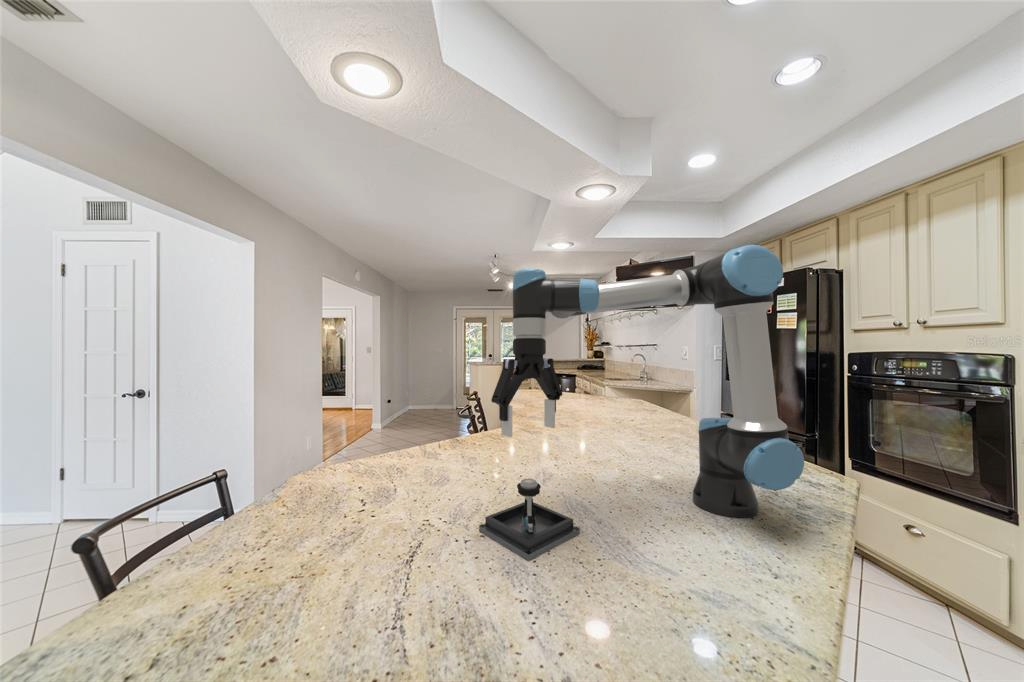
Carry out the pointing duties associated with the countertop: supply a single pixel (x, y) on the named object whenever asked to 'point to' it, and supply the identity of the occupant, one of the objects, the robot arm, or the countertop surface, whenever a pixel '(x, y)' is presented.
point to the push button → (528, 501)
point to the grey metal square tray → (521, 541)
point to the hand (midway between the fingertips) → (529, 431)
